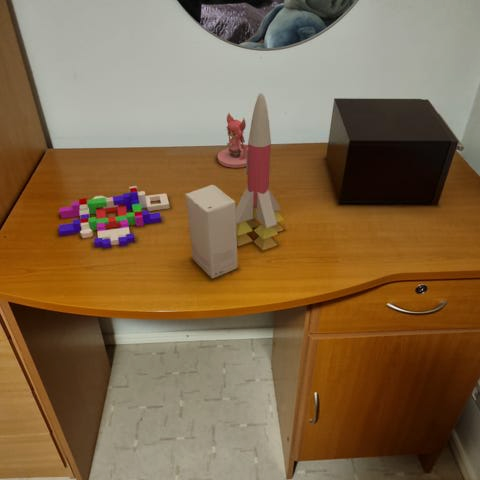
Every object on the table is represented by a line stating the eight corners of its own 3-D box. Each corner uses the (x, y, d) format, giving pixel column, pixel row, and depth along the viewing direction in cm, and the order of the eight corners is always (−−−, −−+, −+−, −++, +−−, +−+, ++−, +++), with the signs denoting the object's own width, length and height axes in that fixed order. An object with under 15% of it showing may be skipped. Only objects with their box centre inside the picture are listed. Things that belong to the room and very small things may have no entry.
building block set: (59, 254, 101) (53, 236, 98) (61, 203, 115) (56, 187, 112) (177, 238, 106) (175, 220, 102) (165, 191, 120) (163, 174, 117)
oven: (405, 158, 133) (421, 98, 121) (429, 205, 116) (450, 140, 104) (325, 158, 133) (334, 98, 121) (338, 204, 116) (349, 140, 104)
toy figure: (210, 160, 131) (208, 116, 123) (233, 148, 137) (233, 105, 128) (237, 171, 127) (237, 126, 118) (260, 158, 132) (261, 114, 124)
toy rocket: (294, 239, 106) (308, 97, 84) (247, 255, 101) (250, 111, 80) (264, 213, 113) (270, 77, 92) (219, 227, 108) (215, 88, 87)
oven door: (423, 158, 133) (440, 99, 121) (450, 204, 116) (473, 141, 104) (406, 158, 133) (421, 99, 121) (431, 204, 116) (451, 141, 104)
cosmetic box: (238, 269, 98) (238, 202, 87) (210, 280, 95) (206, 212, 84) (217, 248, 103) (214, 182, 92) (189, 258, 100) (184, 192, 89)
